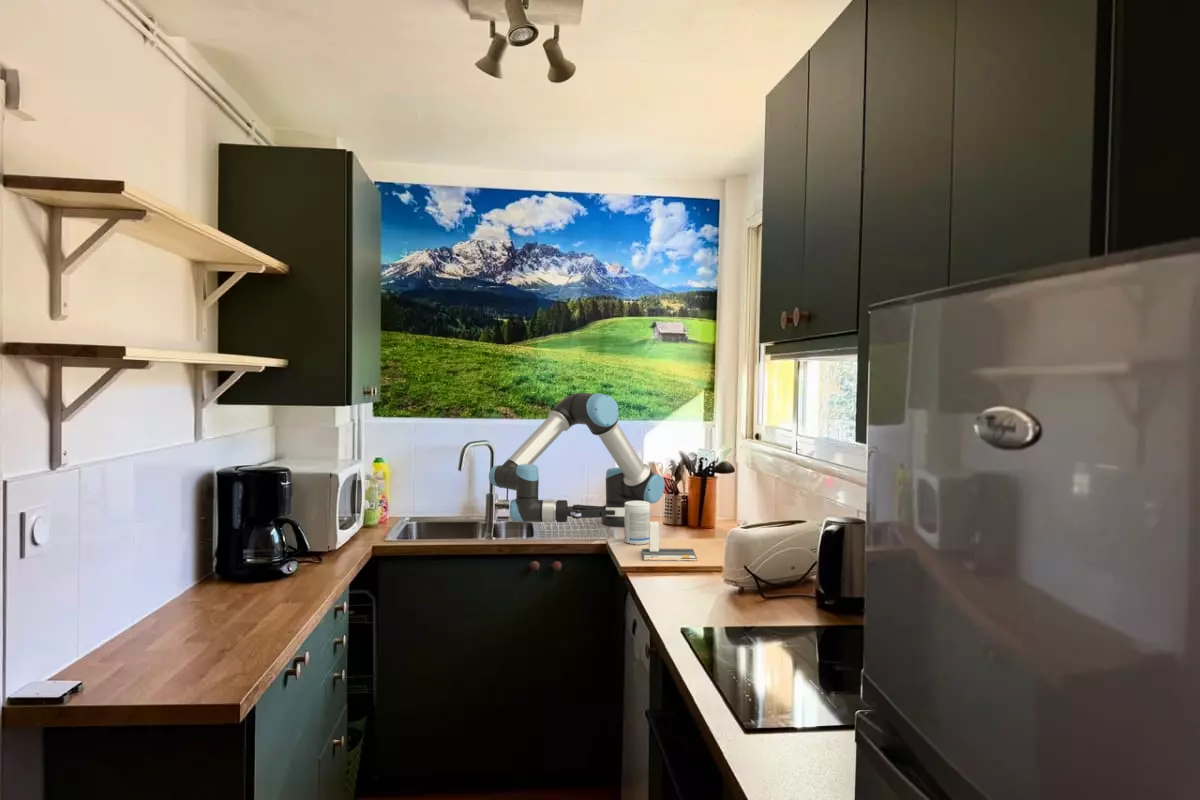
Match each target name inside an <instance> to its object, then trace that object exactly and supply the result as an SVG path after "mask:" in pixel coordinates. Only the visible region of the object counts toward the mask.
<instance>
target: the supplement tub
mask: <svg viewBox="0 0 1200 800" xmlns="http://www.w3.org/2000/svg"><path fill="white" fill-rule="evenodd" d="M624 508H625V517H624V525H625V526H624V542H625V543H626V542H627V543H626V544H628V543H630V544H629V545H634V544H635V546H640V545H646V544H649V522H651V503H649V502H647V501H628V502H625V506H624Z"/></svg>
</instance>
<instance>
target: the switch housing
mask: <svg viewBox="0 0 1200 800" xmlns="http://www.w3.org/2000/svg"><path fill="white" fill-rule="evenodd" d="M642 555H643V557H642V559H643V558H653V557H669V558H681V559H697V560H698V558H697V555H696V553H695V550H694V548H659V552H649V547H648V548H645V547H644V548H642V549H641V556H642Z"/></svg>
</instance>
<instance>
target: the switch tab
mask: <svg viewBox="0 0 1200 800" xmlns="http://www.w3.org/2000/svg"><path fill="white" fill-rule="evenodd" d="M648 545H649V546H648V548H649V552H659V549H660V523H659V521H650V522H649V543H648Z"/></svg>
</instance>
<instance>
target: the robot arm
mask: <svg viewBox="0 0 1200 800" xmlns="http://www.w3.org/2000/svg"><path fill="white" fill-rule="evenodd" d="M619 409H620V408H619V406H618V403H617V401H616V400H615V398H614V397H612V396H611V395H608V394H603V393H585V392H584V393H583V392H576V393H573V394H571V395H569V396H567V397H565V398H563V399H562V400H560V402H558V403H557V404H556V405H555V406H554V407H553V408H552V409H551V410H550V411H549V412H548V417H547V418H545V420H544V421H543V422H542V423H541V424H540V425H539V426H538V428H537V429H536V430H535V431H534V432H533V433H532V434H530V436H529V437H528V438H527V439H525V441H524V442H523V443H522V444H521V445H520V446H519V447H518V448H517V449H516V450H515V452H513V454H511V456H510V457H509V458H507V460H506V461H504V463H502V464H501V465H495V466H492V467H491V469H490V470H489V473H488V479H489V480H488V481H489V483H490V484H491V485H493V486H494V487H498V488H499V489H507V490H512V491H516V493H515V494H516V495H515V496H516V497H515V498H513V499H511V500H510V504H509V518H510V520H511V521H512V522H518V523H519V522H520V523H545V524H549V523H554V522H555V521H556V522H557V523H567V522H568V517H570V518H571V517H572V519H575V520H578V519H592V518H593V519H594V518H601V524H603V525H604V526H608V527H623V528H625V525H624V517H625V508H624V506H625V502H628V501H647V502H649V503H650V504H655V503H657V502H659V501H660V500H661V498H662V496H663V494H664V493H665V486H666V484H665V479H664V478H663V476H662V475H660V474H658V473H654V472H653V471H652V469H651V467H650V466H649V465H648V464H647V463H643V462H642V460H641V459H640V457H639V455H638V454H637V452H636V450H635V449H634V447H633V446H632V444H631V442H630V440H629V439H628V438H627V436H626V434H625V433H624V432H623V430H622V428H621V427H620V425H619V420H620V419H619V415H620V412H619ZM574 425H584V426H585V425H586V427H587V428H588V430H589V431H590V433H591V434H592V435H593V436H597V437H599V439H600V440H601V441H602V443H603V445H604V447H605V448H606V450H607V451H608V453H609V454H610V455H611V457H612V459H613V460H614V462H615V463H616V465H617V466H618V467H611V468H608V469H607V470H606V473H605V504H604V505H602V506H601V505H600V506H599V505H586V504H585V505H584V504H573V505H570V506H568V505H569V504H568V501H567V500H565V499H557V500H555V499H539V485H540V484H539V483H540V482H539V480H540V475H539V467H538V465H537V464H534V463H535V461H536V460H538V458H540V456H541V455H542V454H543V453H544V452H545V451H546V450H547V449H548V448H549V447H550V446H551V445H552V444H553V442H554V441H555V440H556V439H557V438H558V437H559V436H560V435H562V433H563V432H566V431H567V432H568V430H569V429H570V428H572V426H574Z"/></svg>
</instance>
